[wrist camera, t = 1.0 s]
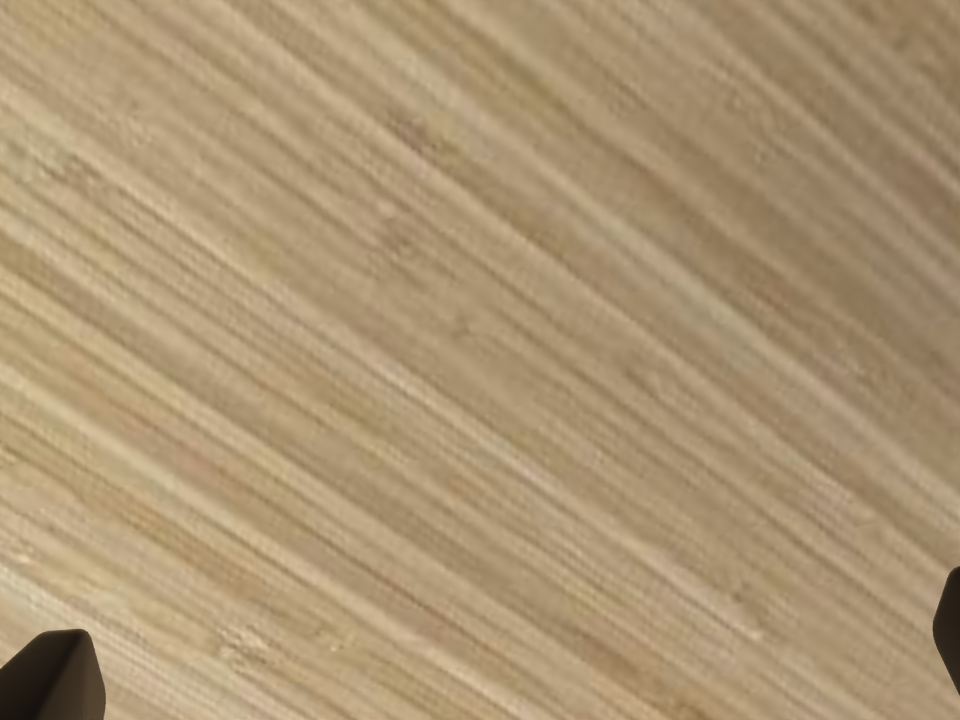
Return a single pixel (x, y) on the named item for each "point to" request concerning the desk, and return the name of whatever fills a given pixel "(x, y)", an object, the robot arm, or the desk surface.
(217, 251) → the desk surface
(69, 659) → the robot arm
